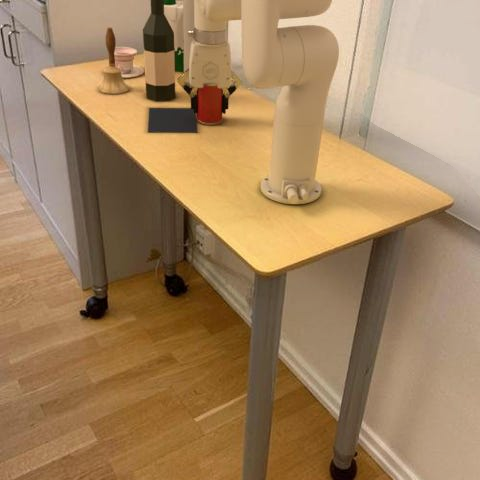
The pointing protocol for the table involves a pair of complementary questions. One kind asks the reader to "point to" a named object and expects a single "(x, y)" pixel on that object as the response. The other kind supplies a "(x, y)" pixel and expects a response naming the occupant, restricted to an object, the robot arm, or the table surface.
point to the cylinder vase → (189, 25)
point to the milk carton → (176, 30)
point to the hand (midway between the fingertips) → (209, 111)
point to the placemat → (172, 120)
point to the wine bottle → (159, 55)
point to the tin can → (209, 104)
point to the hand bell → (112, 70)
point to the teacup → (126, 62)
